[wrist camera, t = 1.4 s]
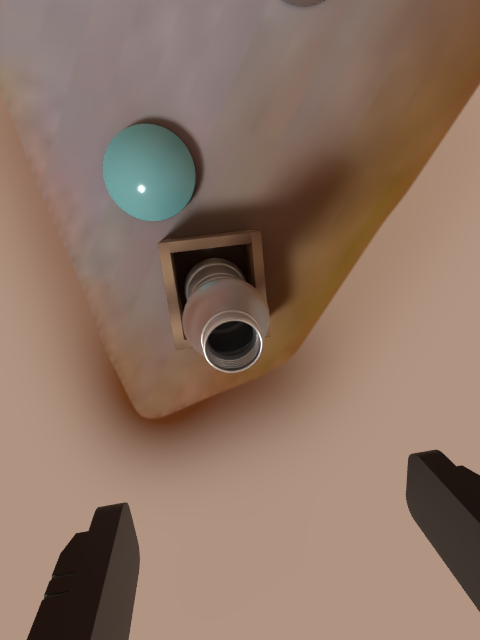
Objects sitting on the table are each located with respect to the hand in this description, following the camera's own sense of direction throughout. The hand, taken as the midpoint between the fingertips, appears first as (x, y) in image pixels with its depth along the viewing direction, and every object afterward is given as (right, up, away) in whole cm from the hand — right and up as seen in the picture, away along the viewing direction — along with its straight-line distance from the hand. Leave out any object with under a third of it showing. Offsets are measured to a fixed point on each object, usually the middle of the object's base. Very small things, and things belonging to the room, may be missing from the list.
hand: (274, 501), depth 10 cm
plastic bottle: (-4, +9, +30) cm, 32 cm away
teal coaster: (-10, +20, +26) cm, 34 cm away
